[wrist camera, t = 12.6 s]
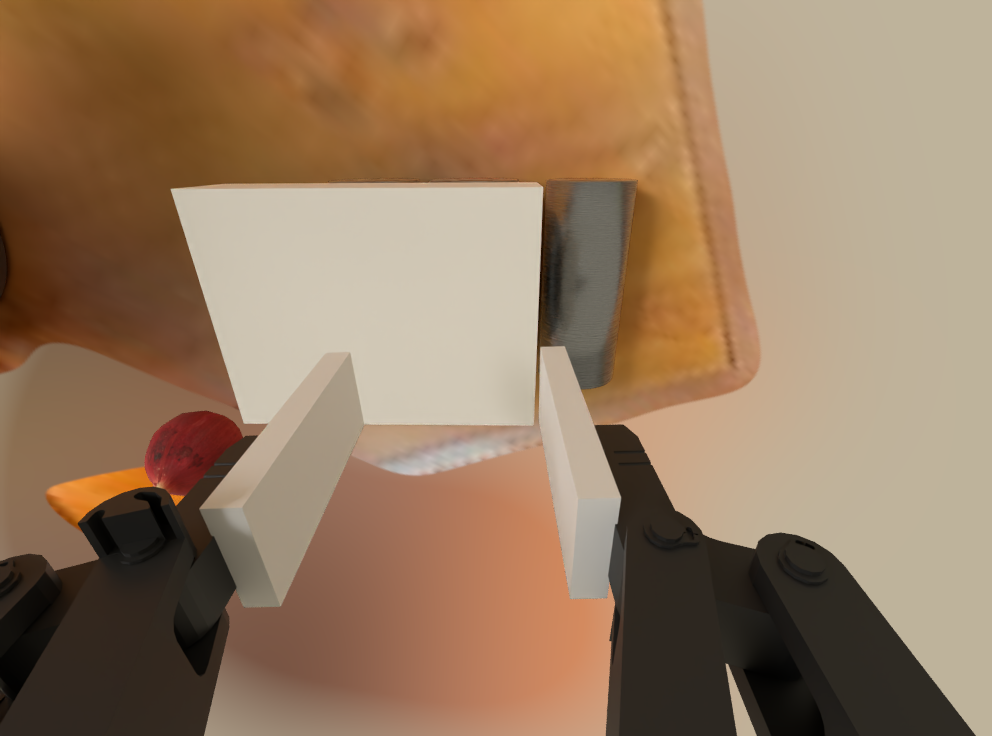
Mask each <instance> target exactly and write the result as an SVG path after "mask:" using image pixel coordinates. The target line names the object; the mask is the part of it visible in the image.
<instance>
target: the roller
mask: <svg viewBox="0 0 992 736" xmlns="http://www.w3.org/2000/svg"><path fill="white" fill-rule="evenodd" d="M637 182H638V180H632V179H612V178H563V179H548V180H546V203H545V225H544V248H543V271H542V294H541V317H540V339H539V362H538V372H539V375H540V347H555V346H565V348H566V351H567V354H568V357H569V359H570V362H571V365H572V367H573V370H574V373H575V375H576V378H577V381H578V383H579V386H580V389H591V388H596V387H600V386H603V385H605V384H607V383H608V382H609V381H610V380H611V379H612V376H613V368H614V360H615V353H616V345H617V337H618V329H619V322H620V314H621V306H622V298H623V291H624V283H625V275H626V267H627V260H628V252H629V244H630V237H631V229H632V221H633V213H634V206H635V198H636V190H637Z"/></svg>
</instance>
